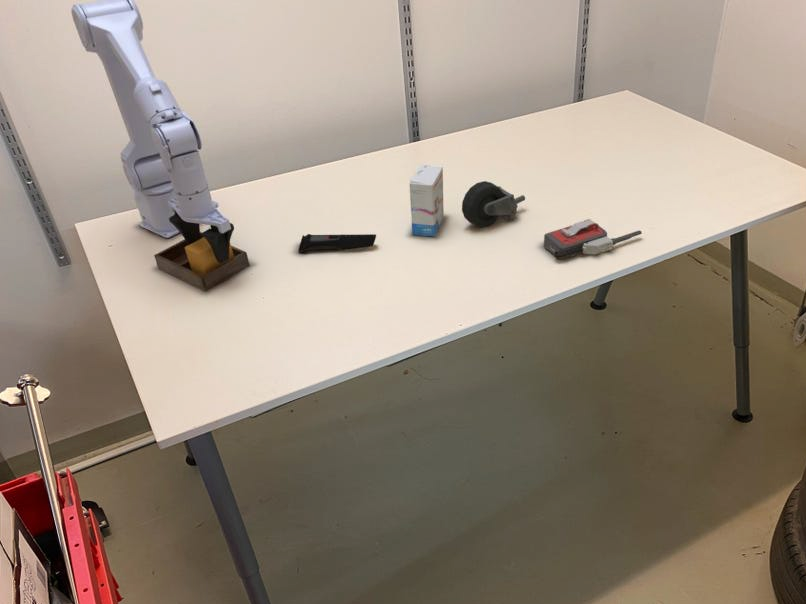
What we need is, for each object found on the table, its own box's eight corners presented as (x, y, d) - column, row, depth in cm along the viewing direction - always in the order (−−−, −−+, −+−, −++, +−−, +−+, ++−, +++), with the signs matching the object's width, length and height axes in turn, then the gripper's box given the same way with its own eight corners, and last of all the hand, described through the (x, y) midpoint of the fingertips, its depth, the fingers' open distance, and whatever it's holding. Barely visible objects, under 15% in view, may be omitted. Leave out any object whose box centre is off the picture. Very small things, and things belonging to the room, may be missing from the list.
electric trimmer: (376, 253, 143) (375, 239, 141) (298, 254, 143) (295, 240, 141) (378, 243, 146) (376, 229, 144) (301, 244, 145) (298, 230, 143)
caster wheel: (475, 239, 148) (532, 211, 154) (470, 198, 141) (530, 171, 147) (460, 228, 152) (516, 201, 157) (454, 187, 145) (513, 161, 150)
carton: (193, 274, 136) (184, 247, 132) (222, 258, 141) (214, 231, 137) (206, 281, 134) (198, 253, 131) (236, 264, 139) (228, 237, 135)
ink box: (435, 237, 147) (432, 184, 139) (411, 235, 148) (407, 182, 140) (445, 217, 153) (443, 165, 146) (422, 215, 154) (419, 163, 146)
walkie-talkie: (561, 268, 138) (643, 240, 145) (563, 248, 135) (646, 221, 143) (536, 247, 144) (616, 221, 151) (537, 227, 141) (619, 202, 148)
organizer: (158, 268, 139) (153, 255, 137) (203, 244, 146) (199, 231, 144) (205, 291, 133) (201, 278, 131) (249, 265, 140) (246, 252, 138)
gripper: (236, 189, 126) (253, 256, 135) (183, 168, 132) (202, 233, 141) (203, 206, 121) (223, 273, 130) (150, 183, 128) (172, 249, 137)
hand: (210, 254), depth 135 cm, fingers open, 7 cm apart
